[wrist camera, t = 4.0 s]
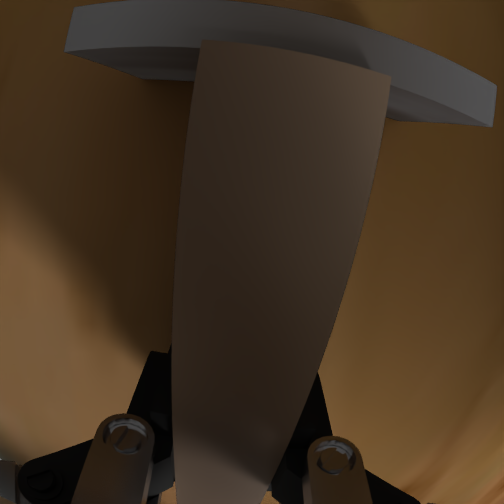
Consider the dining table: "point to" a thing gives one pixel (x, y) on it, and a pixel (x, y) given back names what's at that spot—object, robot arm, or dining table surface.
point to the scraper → (266, 203)
